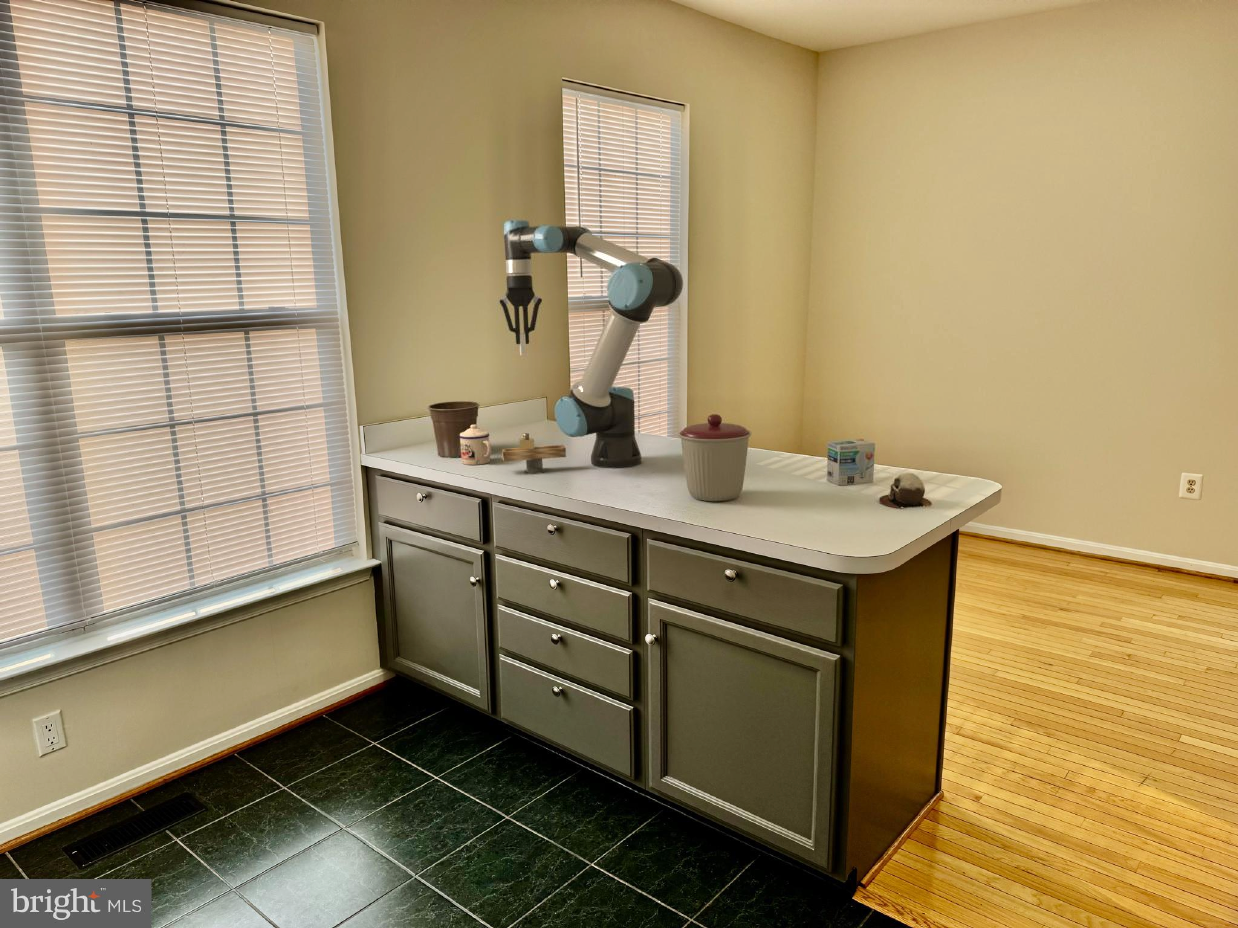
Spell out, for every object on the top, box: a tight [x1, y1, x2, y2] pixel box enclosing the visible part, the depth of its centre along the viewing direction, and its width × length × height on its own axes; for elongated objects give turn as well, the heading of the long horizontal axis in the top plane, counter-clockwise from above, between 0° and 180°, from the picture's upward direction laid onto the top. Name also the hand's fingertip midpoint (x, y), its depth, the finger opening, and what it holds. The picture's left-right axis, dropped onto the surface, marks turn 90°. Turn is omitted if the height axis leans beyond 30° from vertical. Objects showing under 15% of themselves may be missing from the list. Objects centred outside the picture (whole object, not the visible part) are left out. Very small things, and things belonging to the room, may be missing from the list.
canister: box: [677, 413, 752, 502], centre depth 220 cm, size 18×18×21 cm
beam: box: [501, 444, 567, 474], centre depth 256 cm, size 18×6×7 cm, turn 103°
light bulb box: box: [826, 438, 876, 486], centre depth 233 cm, size 11×7×11 cm, turn 105°
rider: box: [518, 432, 535, 451], centre depth 255 cm, size 4×3×6 cm
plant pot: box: [427, 400, 480, 459], centre depth 283 cm, size 16×16×16 cm
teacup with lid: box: [459, 425, 492, 466], centre depth 269 cm, size 12×9×12 cm
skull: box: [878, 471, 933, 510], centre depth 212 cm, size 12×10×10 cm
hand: (523, 355), depth 264 cm, fingers closed
